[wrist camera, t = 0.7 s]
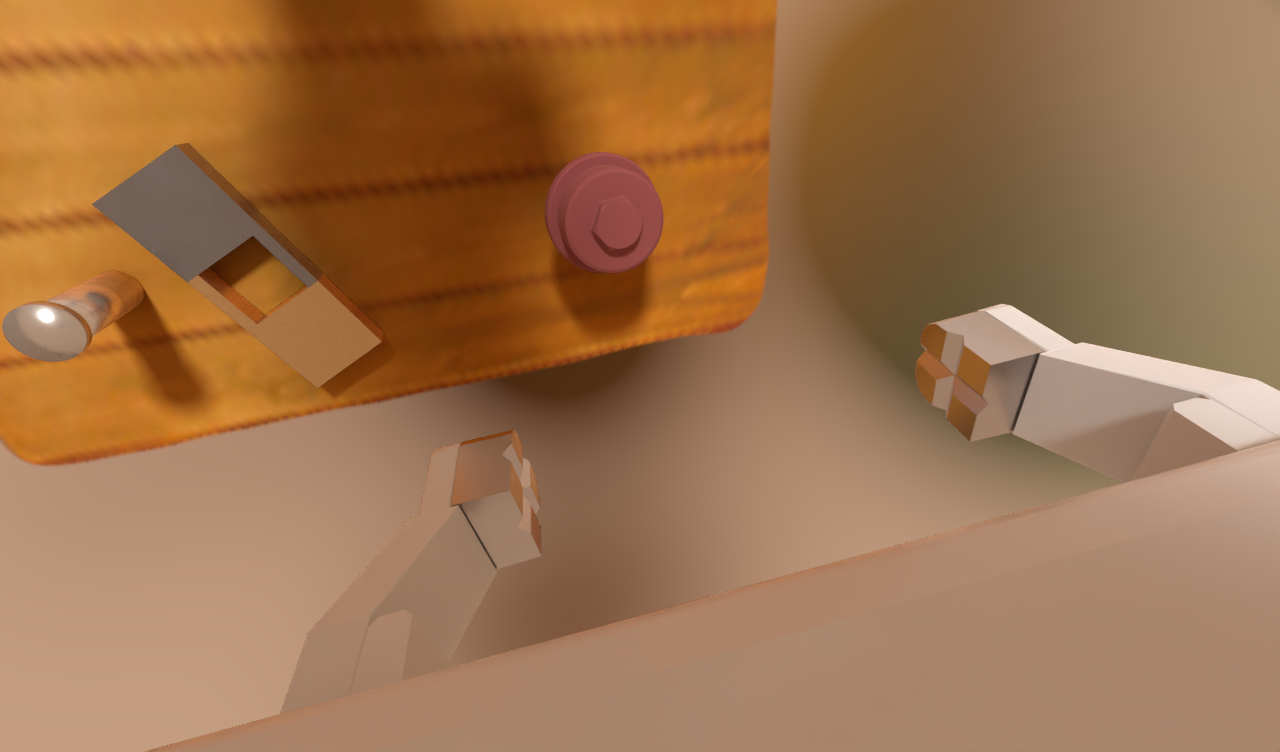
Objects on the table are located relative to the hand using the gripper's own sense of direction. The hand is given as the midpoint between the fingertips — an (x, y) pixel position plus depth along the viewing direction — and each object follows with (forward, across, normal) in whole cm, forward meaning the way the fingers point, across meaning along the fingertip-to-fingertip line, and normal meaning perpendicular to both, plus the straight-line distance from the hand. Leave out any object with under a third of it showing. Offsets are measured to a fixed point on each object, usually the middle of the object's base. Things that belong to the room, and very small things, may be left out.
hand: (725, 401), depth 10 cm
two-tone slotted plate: (+40, +30, +8) cm, 50 cm away
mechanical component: (+45, +1, +10) cm, 46 cm away
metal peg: (+39, +40, +6) cm, 56 cm away
